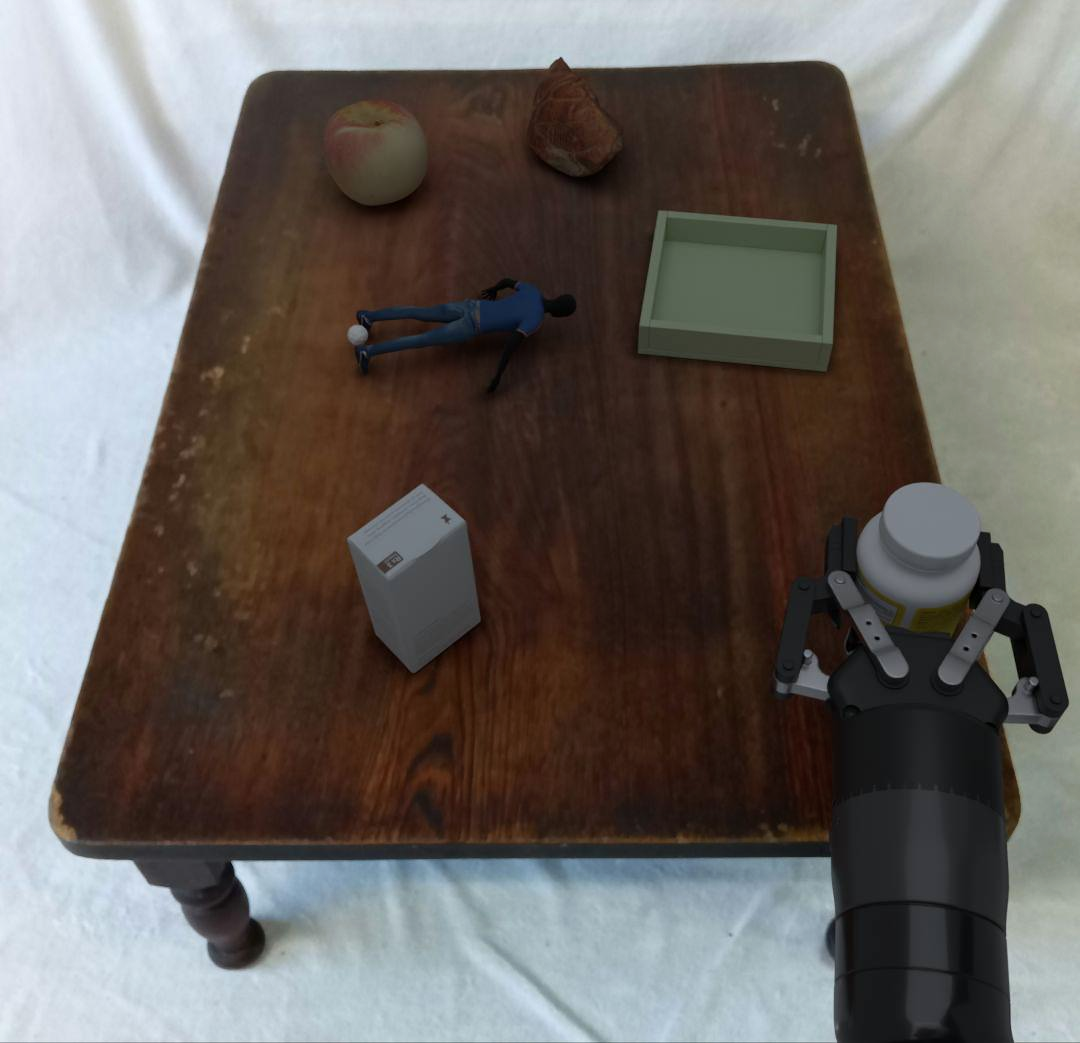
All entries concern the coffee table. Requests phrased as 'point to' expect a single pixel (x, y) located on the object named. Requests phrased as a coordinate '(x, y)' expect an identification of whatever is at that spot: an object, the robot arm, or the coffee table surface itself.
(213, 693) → the coffee table surface
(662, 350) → the tray
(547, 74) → the fossil
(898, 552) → the pill bottle
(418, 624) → the cosmetic box
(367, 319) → the person figurine
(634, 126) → the coffee table surface
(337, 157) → the apple
